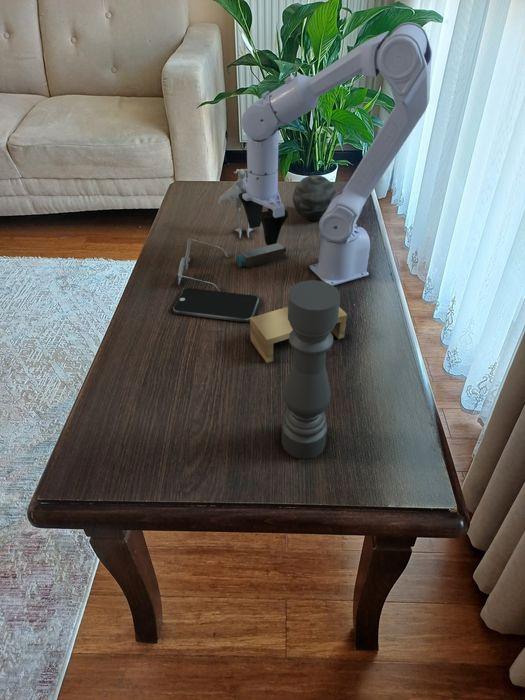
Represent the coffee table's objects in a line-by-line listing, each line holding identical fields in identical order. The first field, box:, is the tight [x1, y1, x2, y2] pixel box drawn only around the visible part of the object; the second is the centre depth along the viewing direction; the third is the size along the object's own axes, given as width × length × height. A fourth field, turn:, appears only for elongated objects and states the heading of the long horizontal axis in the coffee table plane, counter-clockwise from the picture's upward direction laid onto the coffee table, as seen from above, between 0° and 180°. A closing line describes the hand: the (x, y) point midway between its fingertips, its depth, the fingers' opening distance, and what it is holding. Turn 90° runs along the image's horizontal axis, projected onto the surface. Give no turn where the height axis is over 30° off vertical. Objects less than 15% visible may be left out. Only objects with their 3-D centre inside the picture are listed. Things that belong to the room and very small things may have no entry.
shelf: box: [249, 306, 348, 364], centre depth 89 cm, size 15×6×5 cm, turn 116°
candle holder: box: [281, 279, 341, 460], centre depth 65 cm, size 6×6×25 cm
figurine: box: [217, 168, 254, 239], centre depth 113 cm, size 11×4×15 cm, turn 93°
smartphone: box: [172, 287, 260, 323], centre depth 97 cm, size 8×1×15 cm
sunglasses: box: [177, 237, 229, 292], centre depth 105 cm, size 14×8×5 cm, turn 176°
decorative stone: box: [292, 174, 337, 221], centre depth 121 cm, size 10×10×10 cm
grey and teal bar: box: [236, 242, 287, 268], centre depth 109 cm, size 11×2×2 cm, turn 116°
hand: (262, 235), depth 106 cm, fingers open, 7 cm apart
